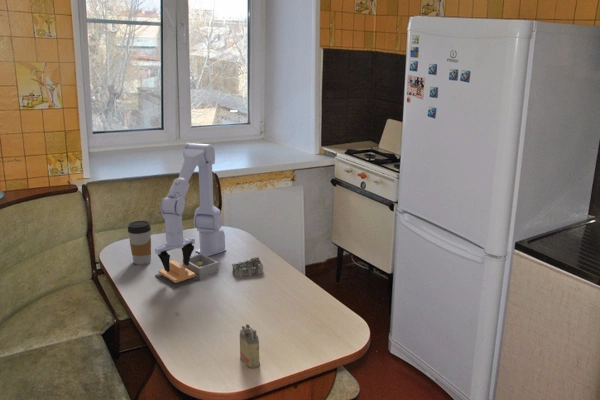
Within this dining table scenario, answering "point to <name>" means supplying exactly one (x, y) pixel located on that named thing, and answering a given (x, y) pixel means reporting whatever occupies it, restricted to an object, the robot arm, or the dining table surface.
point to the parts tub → (202, 265)
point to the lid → (177, 272)
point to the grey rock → (248, 267)
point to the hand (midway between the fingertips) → (176, 267)
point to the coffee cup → (140, 241)
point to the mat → (179, 284)
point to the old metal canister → (249, 347)
